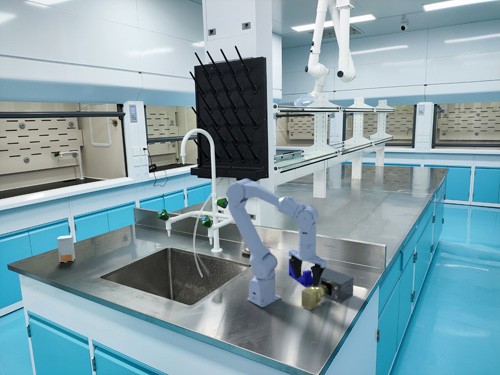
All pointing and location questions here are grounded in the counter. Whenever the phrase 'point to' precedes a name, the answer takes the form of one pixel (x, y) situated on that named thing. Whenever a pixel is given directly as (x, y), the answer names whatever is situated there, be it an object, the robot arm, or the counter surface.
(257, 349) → the counter surface
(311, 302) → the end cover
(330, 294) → the block
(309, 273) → the cable clip
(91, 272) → the counter surface
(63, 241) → the skincare box
